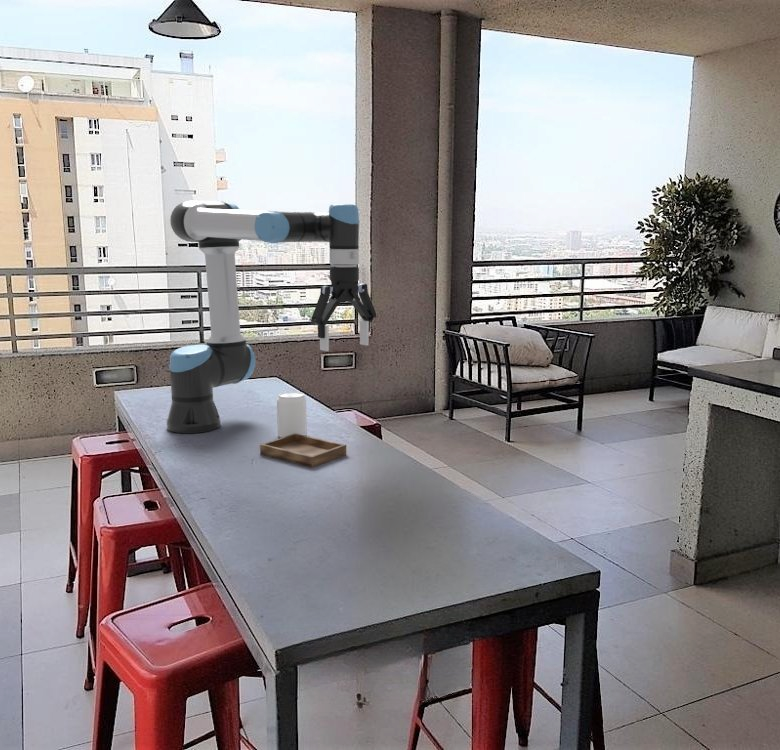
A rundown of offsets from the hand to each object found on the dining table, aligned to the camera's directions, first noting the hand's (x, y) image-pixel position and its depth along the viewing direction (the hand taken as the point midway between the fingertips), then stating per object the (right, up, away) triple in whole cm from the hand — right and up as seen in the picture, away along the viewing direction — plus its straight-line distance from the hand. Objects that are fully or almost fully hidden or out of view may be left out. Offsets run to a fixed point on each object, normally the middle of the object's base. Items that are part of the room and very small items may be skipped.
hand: (344, 347), depth 194 cm
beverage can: (-15, -25, +13) cm, 32 cm away
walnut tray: (-10, -28, -4) cm, 30 cm away
